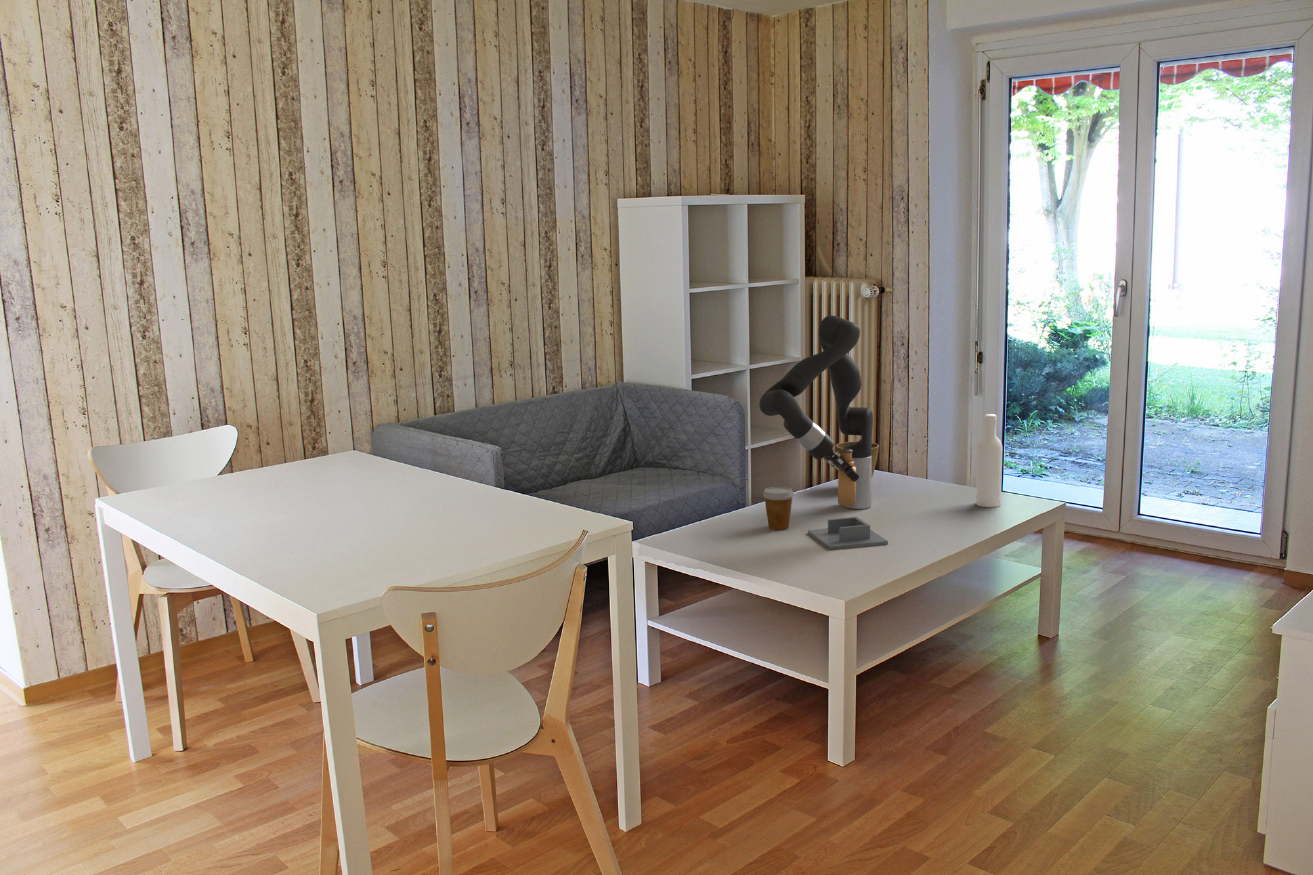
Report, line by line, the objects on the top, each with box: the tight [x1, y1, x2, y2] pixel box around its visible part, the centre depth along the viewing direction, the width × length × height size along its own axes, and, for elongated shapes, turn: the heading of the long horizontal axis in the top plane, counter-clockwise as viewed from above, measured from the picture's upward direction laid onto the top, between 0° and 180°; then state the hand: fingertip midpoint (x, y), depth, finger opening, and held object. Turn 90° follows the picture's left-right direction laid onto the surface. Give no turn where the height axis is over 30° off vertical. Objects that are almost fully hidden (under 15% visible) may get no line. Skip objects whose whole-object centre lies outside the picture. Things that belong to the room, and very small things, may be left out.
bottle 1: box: [837, 449, 856, 506], centre depth 300 cm, size 5×5×16 cm
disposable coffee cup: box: [762, 486, 795, 531], centre depth 317 cm, size 10×10×12 cm
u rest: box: [807, 516, 889, 551], centre depth 304 cm, size 18×18×5 cm
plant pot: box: [835, 441, 880, 477], centre depth 362 cm, size 15×15×16 cm
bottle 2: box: [975, 413, 1004, 508], centre depth 334 cm, size 8×8×30 cm
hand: (852, 477), depth 301 cm, fingers closed on bottle 1, 5 cm apart
